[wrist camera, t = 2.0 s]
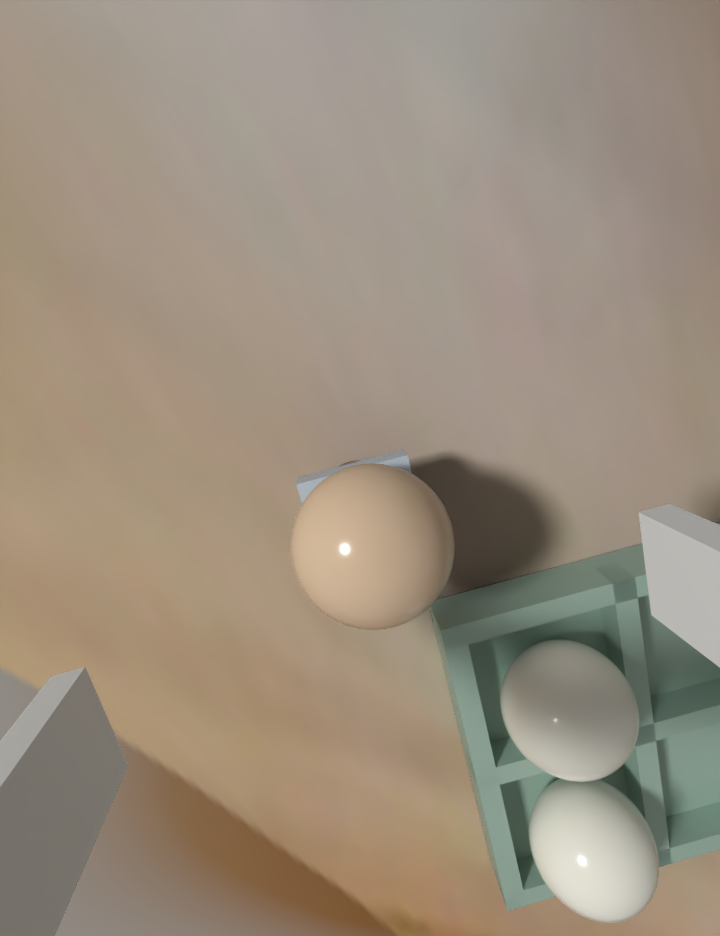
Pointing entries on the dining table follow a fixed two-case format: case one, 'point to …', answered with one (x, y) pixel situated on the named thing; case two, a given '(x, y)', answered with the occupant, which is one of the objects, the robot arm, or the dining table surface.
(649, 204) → the dining table surface
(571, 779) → the cream egg
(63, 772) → the robot arm
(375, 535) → the brown egg
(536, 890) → the carton
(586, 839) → the cream egg
